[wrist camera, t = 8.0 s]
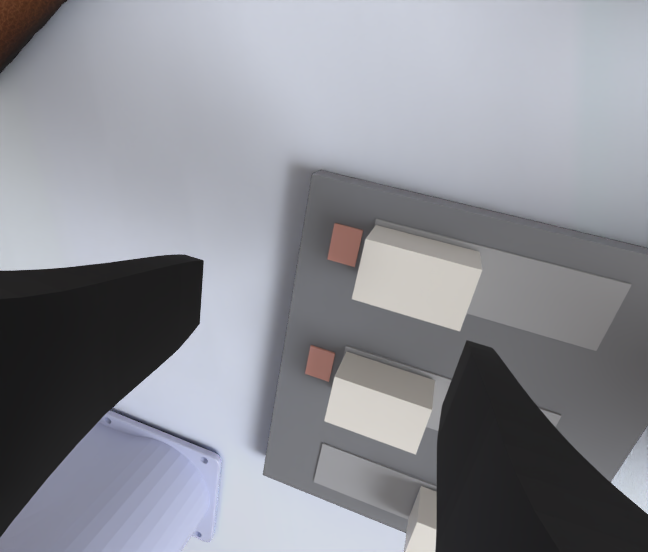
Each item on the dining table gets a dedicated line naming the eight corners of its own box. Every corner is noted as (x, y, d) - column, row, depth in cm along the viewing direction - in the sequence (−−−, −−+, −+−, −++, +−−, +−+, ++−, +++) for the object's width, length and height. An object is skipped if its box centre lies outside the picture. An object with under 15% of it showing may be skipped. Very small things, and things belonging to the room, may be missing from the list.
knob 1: (362, 279, 17) (351, 299, 16) (376, 225, 16) (365, 238, 15) (459, 307, 17) (459, 331, 15) (479, 251, 16) (482, 270, 14)
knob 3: (408, 518, 21) (403, 555, 19) (420, 485, 20) (417, 521, 18) (488, 550, 20) (491, 592, 19) (505, 518, 19) (510, 559, 18)
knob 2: (336, 393, 20) (324, 421, 18) (346, 351, 19) (334, 376, 17) (419, 422, 19) (415, 454, 17) (435, 380, 18) (432, 410, 16)
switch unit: (271, 459, 25) (262, 476, 23) (321, 169, 18) (311, 174, 17) (537, 564, 22) (541, 590, 20) (723, 266, 15) (745, 279, 14)
